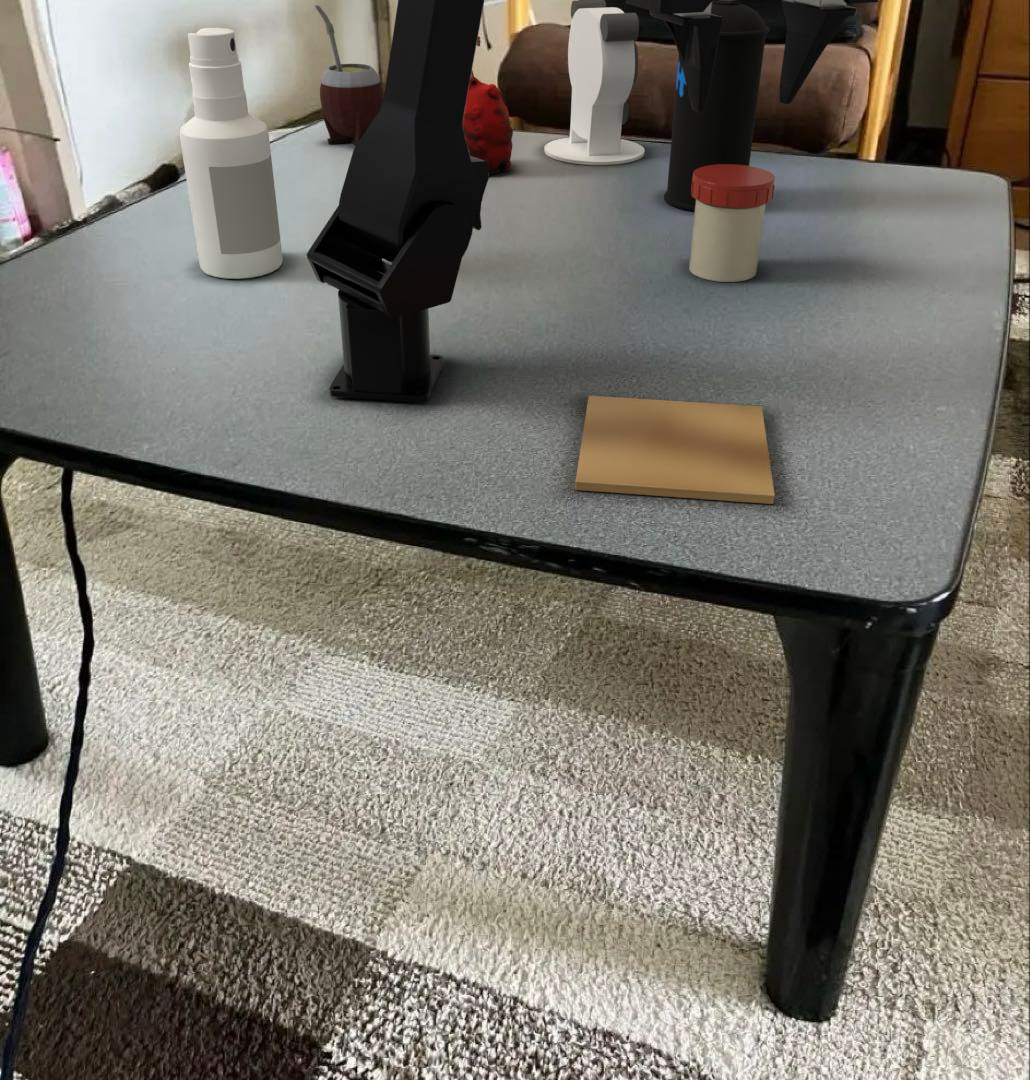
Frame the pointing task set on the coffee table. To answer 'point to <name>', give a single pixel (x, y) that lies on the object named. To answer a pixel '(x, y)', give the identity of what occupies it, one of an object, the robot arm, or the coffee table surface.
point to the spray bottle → (228, 166)
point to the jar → (726, 242)
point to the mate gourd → (348, 96)
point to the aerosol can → (718, 104)
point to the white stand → (599, 85)
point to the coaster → (675, 450)
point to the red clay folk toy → (487, 125)
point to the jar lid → (732, 185)
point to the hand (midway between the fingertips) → (741, 107)
